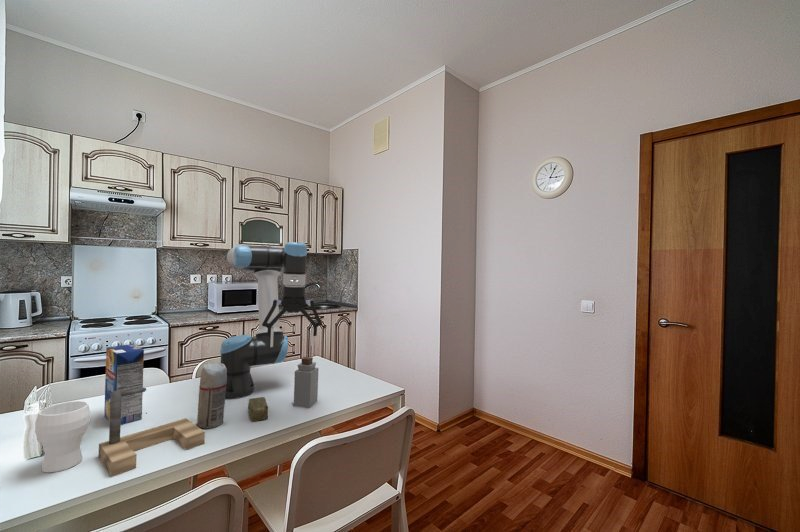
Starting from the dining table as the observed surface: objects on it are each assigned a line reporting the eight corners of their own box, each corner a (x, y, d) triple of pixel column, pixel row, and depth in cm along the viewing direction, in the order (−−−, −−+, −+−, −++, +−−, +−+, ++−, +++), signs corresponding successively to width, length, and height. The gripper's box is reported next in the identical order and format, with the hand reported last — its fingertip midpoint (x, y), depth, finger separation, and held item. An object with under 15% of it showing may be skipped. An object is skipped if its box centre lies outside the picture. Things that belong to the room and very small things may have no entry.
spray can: (218, 416, 124) (220, 359, 124) (229, 423, 119) (231, 364, 119) (192, 423, 118) (194, 364, 118) (202, 431, 112) (204, 369, 112)
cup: (47, 480, 86) (49, 419, 86) (24, 469, 90) (26, 411, 90) (98, 458, 96) (99, 404, 96) (75, 450, 100) (77, 397, 100)
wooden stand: (98, 456, 97) (100, 393, 97) (185, 428, 114) (187, 375, 114) (112, 476, 88) (114, 407, 88) (204, 443, 105) (206, 385, 105)
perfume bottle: (309, 407, 134) (311, 361, 134) (293, 405, 135) (295, 359, 135) (317, 401, 140) (318, 356, 140) (301, 399, 142) (303, 355, 142)
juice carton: (104, 416, 121) (106, 347, 121) (130, 409, 127) (132, 344, 127) (114, 427, 114) (116, 353, 114) (141, 419, 120) (144, 349, 120)
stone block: (250, 423, 120) (251, 408, 120) (247, 410, 130) (247, 397, 130) (268, 420, 123) (269, 406, 123) (264, 408, 133) (264, 395, 133)
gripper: (255, 286, 116) (253, 349, 117) (331, 287, 124) (328, 347, 124) (257, 284, 124) (255, 344, 124) (329, 285, 131) (326, 342, 131)
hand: (292, 345), depth 124 cm, fingers open, 13 cm apart
